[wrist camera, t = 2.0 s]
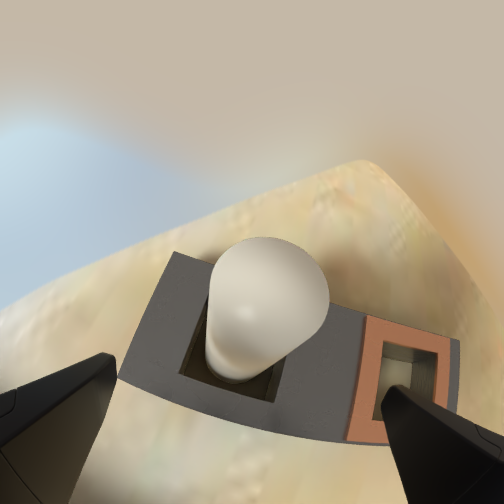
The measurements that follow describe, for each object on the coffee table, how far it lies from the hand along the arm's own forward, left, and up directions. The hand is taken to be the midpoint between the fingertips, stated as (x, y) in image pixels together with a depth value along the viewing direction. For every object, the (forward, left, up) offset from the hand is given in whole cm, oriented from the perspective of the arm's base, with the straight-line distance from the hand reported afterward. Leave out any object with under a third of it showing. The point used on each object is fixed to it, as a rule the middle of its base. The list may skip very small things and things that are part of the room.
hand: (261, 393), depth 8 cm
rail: (+3, -5, -10) cm, 12 cm away
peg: (+3, +1, -10) cm, 11 cm away
